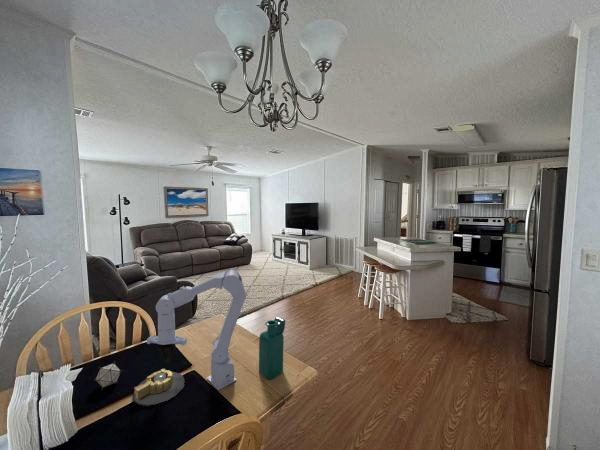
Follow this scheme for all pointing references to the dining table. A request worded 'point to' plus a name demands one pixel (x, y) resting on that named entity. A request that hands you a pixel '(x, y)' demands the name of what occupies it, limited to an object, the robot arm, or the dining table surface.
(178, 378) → the flange
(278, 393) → the dining table surface
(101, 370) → the game die
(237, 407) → the dining table surface
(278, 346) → the green flip-top bottle
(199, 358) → the dining table surface
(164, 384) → the yellow toy key
